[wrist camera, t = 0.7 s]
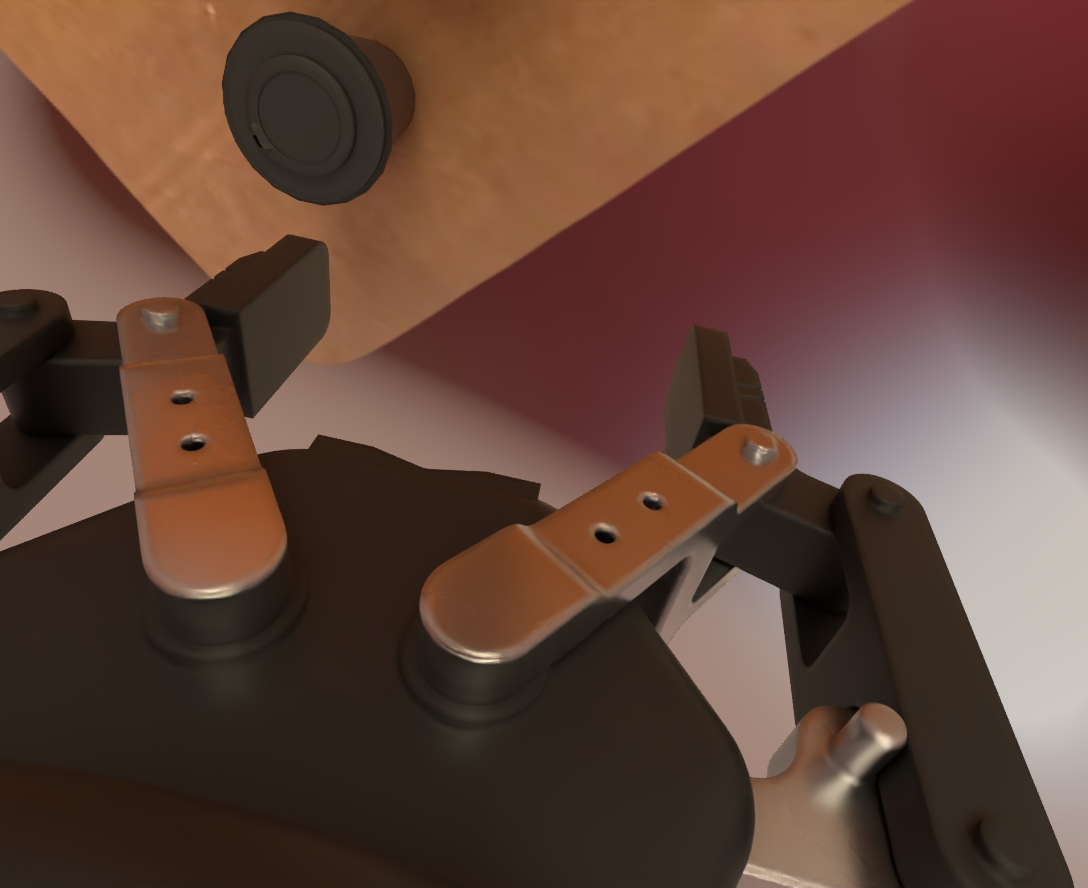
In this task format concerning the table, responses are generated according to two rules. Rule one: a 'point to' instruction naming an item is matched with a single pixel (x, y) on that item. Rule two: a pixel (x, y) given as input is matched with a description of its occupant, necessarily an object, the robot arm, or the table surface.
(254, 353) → the robot arm
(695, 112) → the table surface
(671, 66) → the table surface
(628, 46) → the table surface
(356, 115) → the coffee cup
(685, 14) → the table surface
